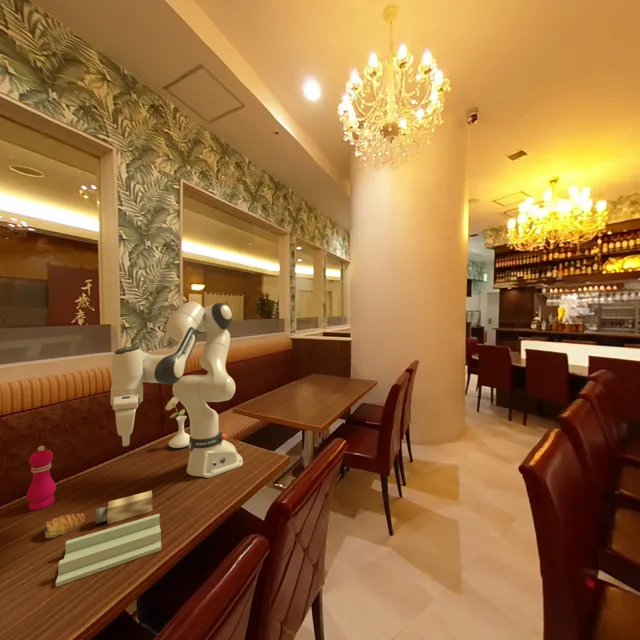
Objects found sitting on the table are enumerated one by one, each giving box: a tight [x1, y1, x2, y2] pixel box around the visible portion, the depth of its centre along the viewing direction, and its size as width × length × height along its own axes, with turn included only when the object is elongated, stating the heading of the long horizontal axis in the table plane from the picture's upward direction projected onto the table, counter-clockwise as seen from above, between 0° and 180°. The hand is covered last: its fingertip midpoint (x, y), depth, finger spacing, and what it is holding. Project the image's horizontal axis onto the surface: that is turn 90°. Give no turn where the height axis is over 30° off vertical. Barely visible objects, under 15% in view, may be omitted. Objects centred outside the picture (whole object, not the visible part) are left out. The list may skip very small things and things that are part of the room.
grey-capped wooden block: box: [94, 490, 153, 525], centre depth 96 cm, size 15×4×5 cm, turn 121°
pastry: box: [43, 512, 86, 539], centre depth 90 cm, size 9×7×4 cm
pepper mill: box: [26, 445, 57, 511], centre depth 102 cm, size 7×7×20 cm
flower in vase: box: [165, 396, 191, 449], centre depth 148 cm, size 13×11×25 cm
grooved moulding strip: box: [55, 513, 162, 588], centre depth 82 cm, size 22×14×4 cm, turn 120°
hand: (127, 440), depth 97 cm, fingers open, 8 cm apart
